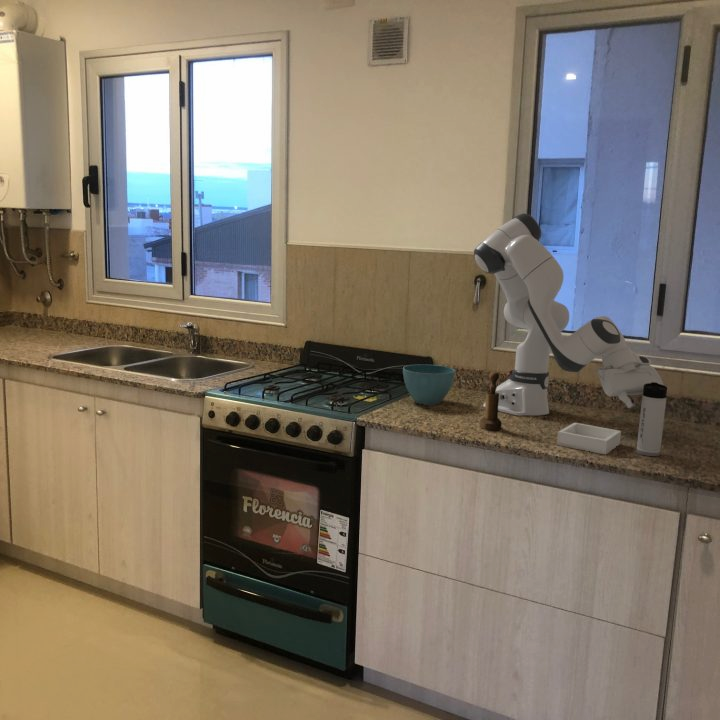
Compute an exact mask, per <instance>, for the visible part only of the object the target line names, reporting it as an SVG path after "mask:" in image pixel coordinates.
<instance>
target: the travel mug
mask: <svg viewBox="0 0 720 720" xmlns="http://www.w3.org/2000/svg"><path fill="white" fill-rule="evenodd" d="M667 393H668V387H667V386H666V385H664V384H663V385H661V384H658V383H655V382H651V383H647V384H644V388H643V394H641V395H642V398H641V405H640V406H641V407H640V414H639V425H638V434H637V442H636V443H637V444H636V453H637V454H638V453H639V455H641V456H644V455H646V456H645V457H650V456H656V457H658V456H660V455H661V447H662V440H663V431H664V430H663V429H664V420H665V411H666V404H667Z"/></svg>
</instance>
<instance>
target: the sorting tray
mask: <svg viewBox="0 0 720 720" xmlns="http://www.w3.org/2000/svg"><path fill="white" fill-rule="evenodd" d="M621 435H622V430H618V429H611V428H606V427H601V426H595V425H591V424H585V423H579V422H573V423H571V424H569V425H567V426H566V427H564V428H562V429H560V430H558V431H557V439H556V441H557V442H556V446H559V447H564V448H565V447H566V448H570V449H575V450H580V451H584V450H585V452H589V451H590V453H596V454H601V455H604V454H605V455H607V454H609V453H610V452H611V451H612V449H613V450H614V449H615V448H617V447H618V446H619V445H620V444H621V438H622V436H621ZM616 446H617V447H616ZM605 455H604V456H605Z"/></svg>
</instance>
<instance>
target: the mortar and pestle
mask: <svg viewBox="0 0 720 720" xmlns="http://www.w3.org/2000/svg"><path fill="white" fill-rule="evenodd" d="M488 377H489V380H490V384H489V391H486V393H485V402H486V406H485V407H484V417H482V418H480V419H479V428H480V427H481V428H480V429H482V428H483V429H482V430H484V429H487V430H486V431H491V430H496V431H500V430H501V429H502V421H501V419H500V418H498V416H499V411H498V402H499V393H497V392H495V391H496V388H497V386H498V385H497V381H498V380H499V378H500V375H499V372H498V371H496V370H492V371H490V372H489V375H488ZM499 429H500V430H499Z"/></svg>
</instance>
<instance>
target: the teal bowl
mask: <svg viewBox="0 0 720 720" xmlns="http://www.w3.org/2000/svg"><path fill="white" fill-rule="evenodd" d="M402 374H403V380H404V385H405V387H406V389H407V392H408V393H409V396H410V397H411V398H412V400H413V401H414V402H415V403H416V404H418V403H419V405H421V404H424V405H423V406H436V404H437V405H439V404H440V403H441V402H442V401H443V400H444V399H445V398H446V397H447V396H448V394H449V392H450V390H451V388H452V385H453V382H454V378H455V375H456V370H455V369H454V368H452V367H449V366H443V365H437V364H436V365H435V364H409V365H405V366H403V368H402Z"/></svg>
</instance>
